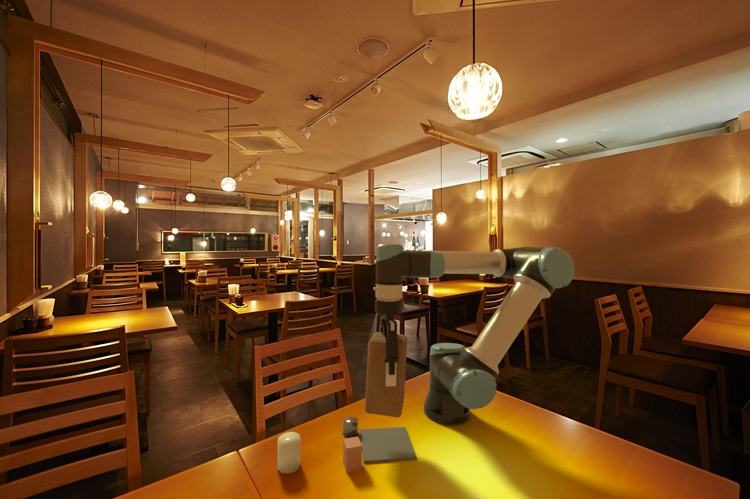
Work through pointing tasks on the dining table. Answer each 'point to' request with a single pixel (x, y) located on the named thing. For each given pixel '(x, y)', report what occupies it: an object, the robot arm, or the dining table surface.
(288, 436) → the cream rounded cylinder
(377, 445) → the mat
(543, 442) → the dining table surface
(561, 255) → the robot arm
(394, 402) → the wooden block
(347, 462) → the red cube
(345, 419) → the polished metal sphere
